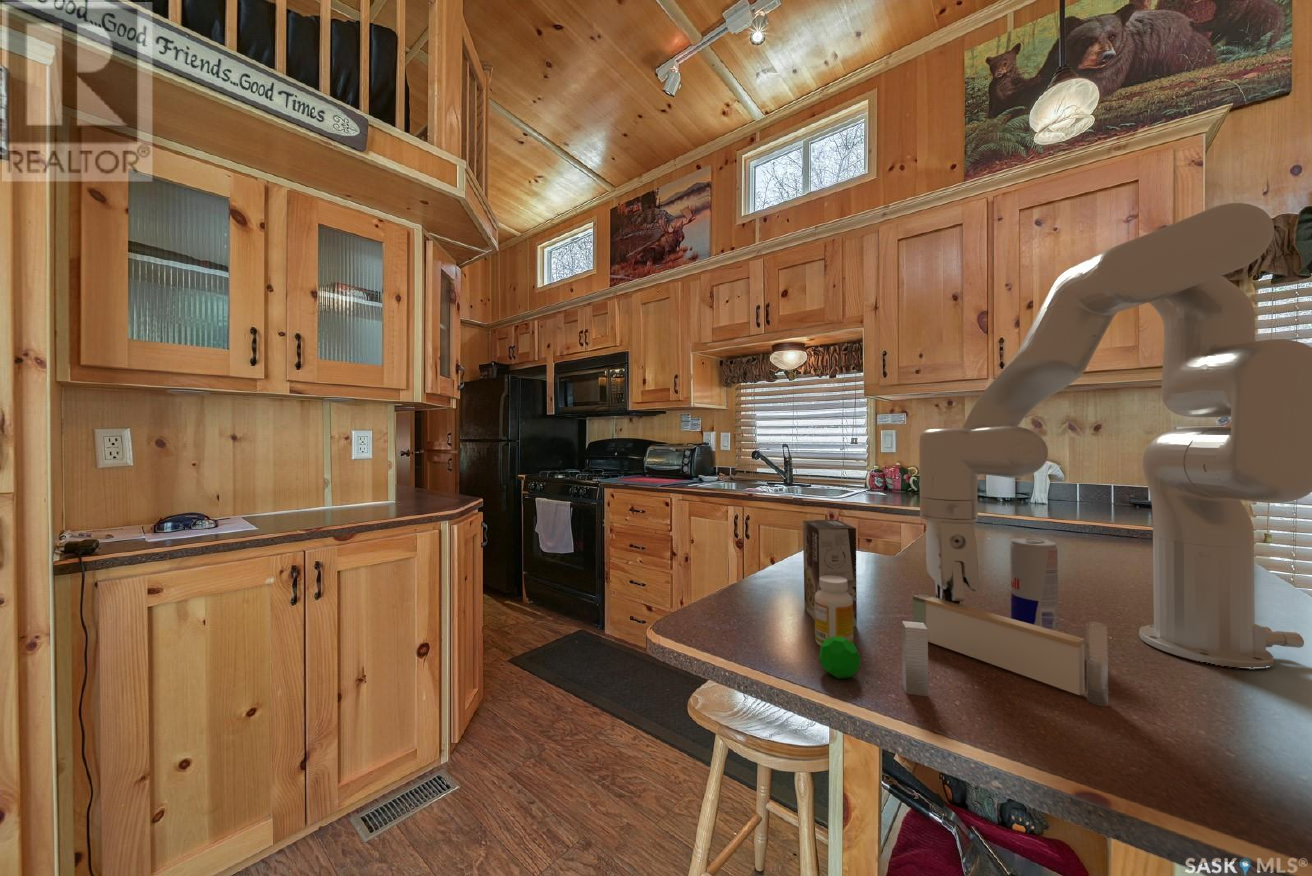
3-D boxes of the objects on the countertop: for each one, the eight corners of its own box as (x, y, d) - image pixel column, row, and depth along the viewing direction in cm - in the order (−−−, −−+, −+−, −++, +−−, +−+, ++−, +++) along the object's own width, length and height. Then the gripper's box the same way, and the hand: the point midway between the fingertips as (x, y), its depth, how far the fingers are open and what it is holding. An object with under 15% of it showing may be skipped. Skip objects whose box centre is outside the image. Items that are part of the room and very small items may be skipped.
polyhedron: (831, 662, 66) (831, 628, 66) (867, 676, 62) (866, 639, 62) (812, 675, 63) (811, 638, 63) (848, 689, 59) (847, 651, 59)
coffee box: (858, 627, 78) (857, 528, 78) (818, 627, 78) (817, 528, 78) (838, 607, 87) (837, 518, 87) (802, 607, 87) (801, 518, 87)
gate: (1085, 690, 57) (1084, 638, 57) (1078, 695, 56) (1077, 642, 56) (920, 633, 74) (920, 593, 74) (913, 636, 73) (912, 596, 73)
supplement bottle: (854, 639, 74) (853, 575, 74) (852, 654, 69) (851, 586, 69) (817, 633, 76) (816, 572, 76) (812, 647, 71) (812, 581, 71)
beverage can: (1048, 634, 74) (1047, 537, 74) (1065, 650, 69) (1064, 545, 69) (1005, 630, 76) (1004, 535, 76) (1019, 645, 71) (1018, 543, 71)
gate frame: (1099, 698, 57) (1098, 621, 57) (1115, 709, 54) (1114, 628, 54) (900, 685, 60) (899, 612, 60) (907, 695, 58) (906, 619, 58)
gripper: (995, 518, 65) (996, 654, 65) (961, 503, 79) (962, 615, 79) (932, 516, 67) (933, 647, 67) (910, 502, 82) (911, 610, 82)
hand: (949, 629), depth 73 cm, fingers closed
